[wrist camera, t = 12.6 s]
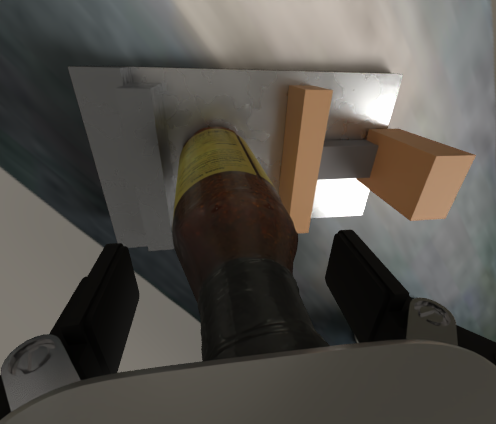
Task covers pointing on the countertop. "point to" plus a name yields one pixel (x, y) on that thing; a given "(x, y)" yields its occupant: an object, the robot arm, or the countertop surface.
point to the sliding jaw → (364, 163)
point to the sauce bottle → (237, 250)
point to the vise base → (210, 115)
